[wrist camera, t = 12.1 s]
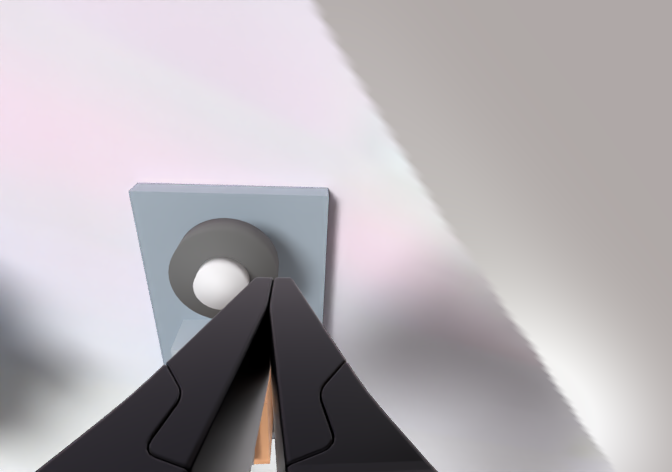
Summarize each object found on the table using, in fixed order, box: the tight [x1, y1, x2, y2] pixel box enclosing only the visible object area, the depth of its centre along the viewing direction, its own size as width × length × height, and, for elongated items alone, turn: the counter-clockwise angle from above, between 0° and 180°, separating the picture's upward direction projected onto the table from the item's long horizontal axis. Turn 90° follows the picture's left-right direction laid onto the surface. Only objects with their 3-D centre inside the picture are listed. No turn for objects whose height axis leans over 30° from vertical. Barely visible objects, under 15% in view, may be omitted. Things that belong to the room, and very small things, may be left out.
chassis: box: [129, 183, 329, 439], centre depth 23 cm, size 16×10×4 cm, turn 177°
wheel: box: [168, 218, 279, 318], centre depth 19 cm, size 5×5×2 cm
